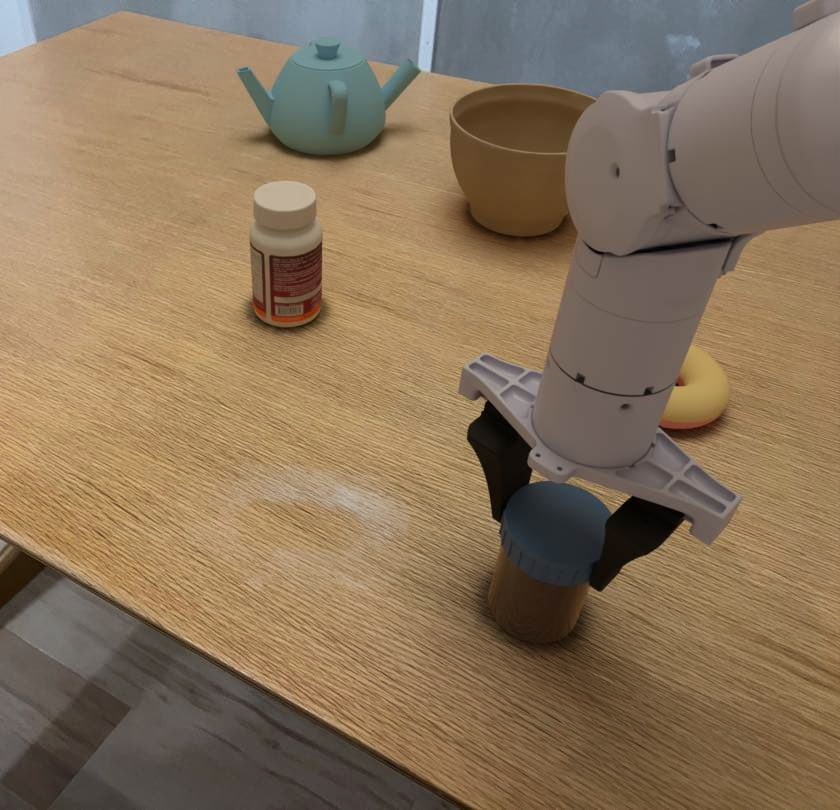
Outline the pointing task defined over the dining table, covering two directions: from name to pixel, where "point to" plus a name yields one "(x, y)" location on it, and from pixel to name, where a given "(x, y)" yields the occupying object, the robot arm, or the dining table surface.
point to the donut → (697, 392)
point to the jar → (533, 603)
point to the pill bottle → (286, 254)
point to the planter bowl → (515, 154)
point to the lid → (554, 532)
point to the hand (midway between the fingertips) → (552, 543)
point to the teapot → (327, 98)
